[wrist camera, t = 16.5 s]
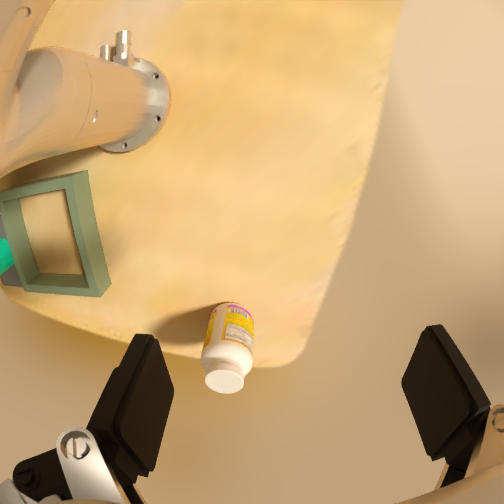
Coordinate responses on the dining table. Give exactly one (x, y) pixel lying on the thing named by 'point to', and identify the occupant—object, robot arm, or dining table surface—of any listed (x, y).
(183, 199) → the dining table surface
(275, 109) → the dining table surface
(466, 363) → the robot arm
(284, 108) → the dining table surface
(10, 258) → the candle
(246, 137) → the dining table surface
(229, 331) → the supplement bottle
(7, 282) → the rubber mat
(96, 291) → the box
